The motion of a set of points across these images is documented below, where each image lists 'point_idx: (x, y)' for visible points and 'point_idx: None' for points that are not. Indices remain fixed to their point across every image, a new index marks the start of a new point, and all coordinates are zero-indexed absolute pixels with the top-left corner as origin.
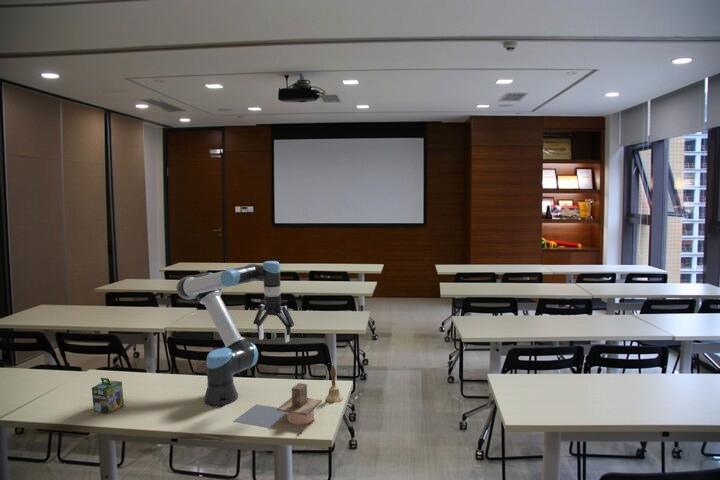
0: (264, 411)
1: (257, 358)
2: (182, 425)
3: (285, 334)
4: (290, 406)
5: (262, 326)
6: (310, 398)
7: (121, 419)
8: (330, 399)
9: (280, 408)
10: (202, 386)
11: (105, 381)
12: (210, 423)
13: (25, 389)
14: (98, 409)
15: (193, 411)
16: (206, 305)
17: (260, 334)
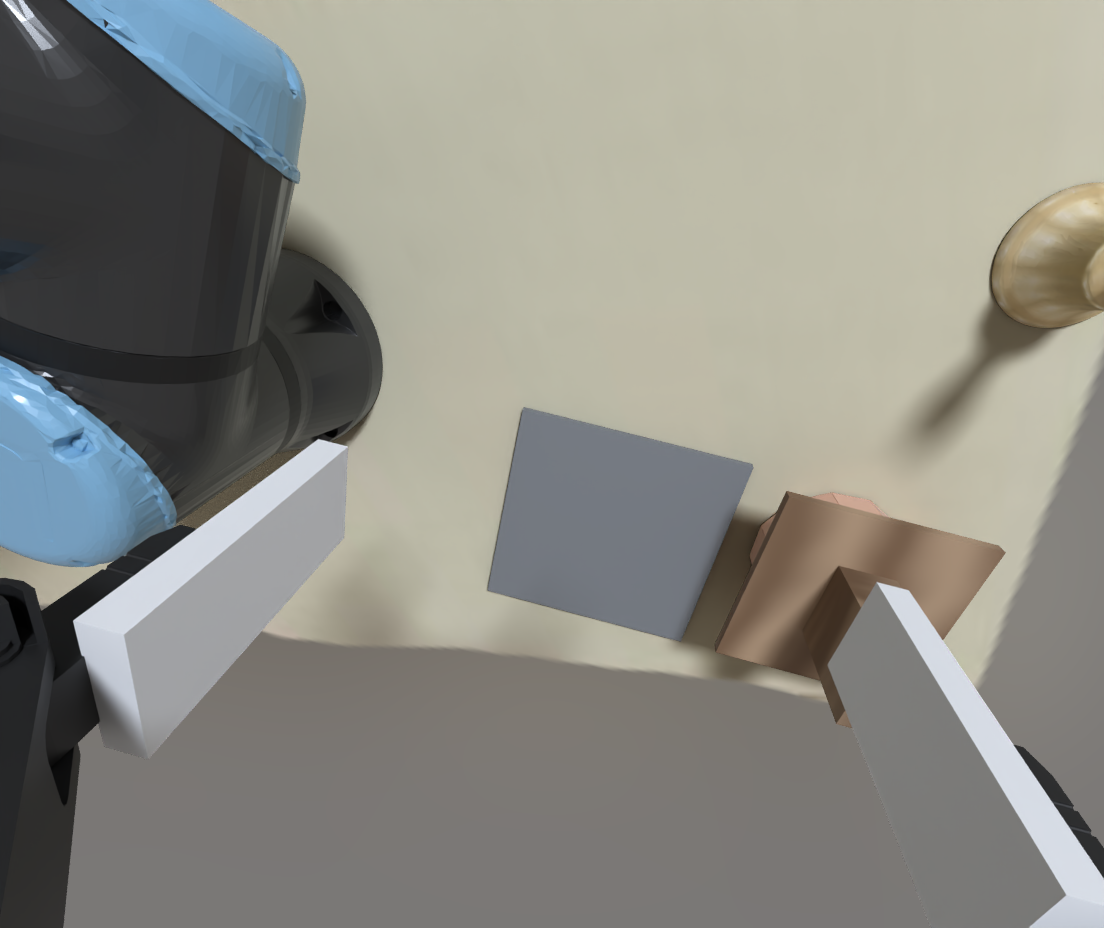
0: (603, 492)
1: (288, 66)
2: (295, 604)
3: (902, 814)
4: (791, 629)
5: (166, 645)
6: (919, 532)
7: (31, 562)
8: (1041, 316)
9: (734, 648)
10: None
11: None
12: (395, 589)
13: None
14: None
15: (246, 486)
16: None
17: (286, 599)
